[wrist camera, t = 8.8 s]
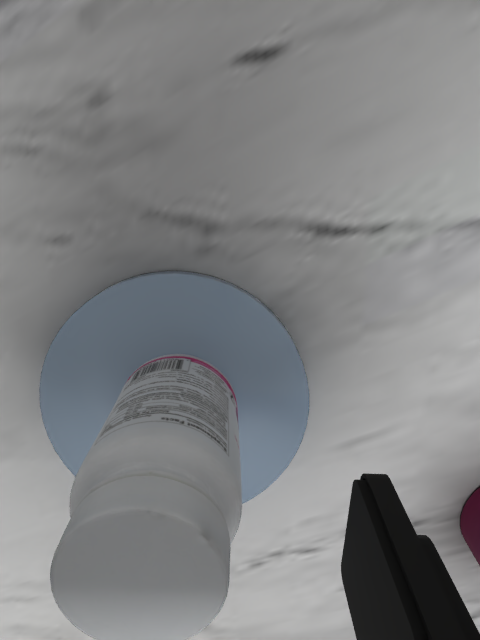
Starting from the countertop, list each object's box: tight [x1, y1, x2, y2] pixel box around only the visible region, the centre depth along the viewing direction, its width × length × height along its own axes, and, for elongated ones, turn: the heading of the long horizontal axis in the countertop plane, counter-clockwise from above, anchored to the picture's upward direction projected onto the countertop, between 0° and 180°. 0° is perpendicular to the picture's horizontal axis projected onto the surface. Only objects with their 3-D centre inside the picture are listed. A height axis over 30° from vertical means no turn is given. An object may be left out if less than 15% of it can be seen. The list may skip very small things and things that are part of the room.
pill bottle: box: [50, 354, 242, 640], centre depth 14 cm, size 5×5×8 cm
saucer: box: [39, 271, 309, 504], centre depth 18 cm, size 11×11×1 cm
